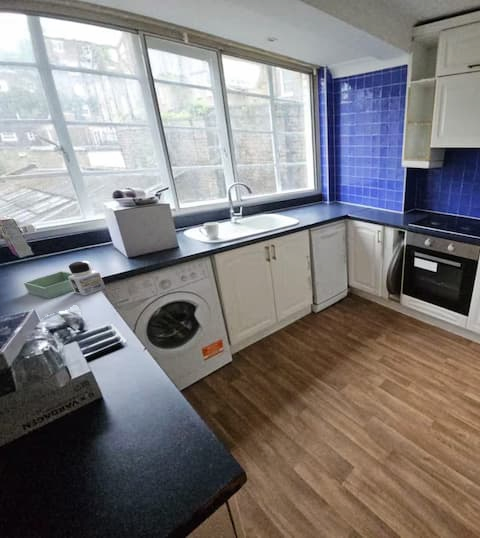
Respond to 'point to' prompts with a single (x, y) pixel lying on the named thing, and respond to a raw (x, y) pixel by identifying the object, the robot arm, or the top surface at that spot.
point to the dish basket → (50, 285)
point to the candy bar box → (14, 237)
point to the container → (84, 278)
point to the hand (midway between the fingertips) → (11, 234)
